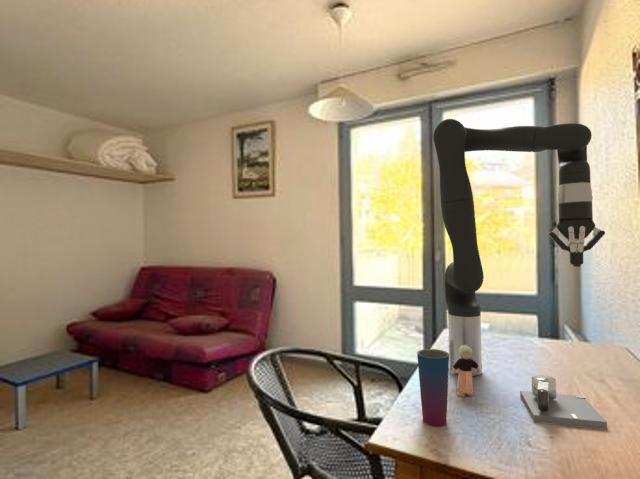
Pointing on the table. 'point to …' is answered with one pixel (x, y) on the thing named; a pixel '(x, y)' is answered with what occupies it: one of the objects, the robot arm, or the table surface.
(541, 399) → the lever
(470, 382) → the grandmother figurine
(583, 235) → the robot arm
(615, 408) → the table surface
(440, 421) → the cup
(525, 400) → the base
